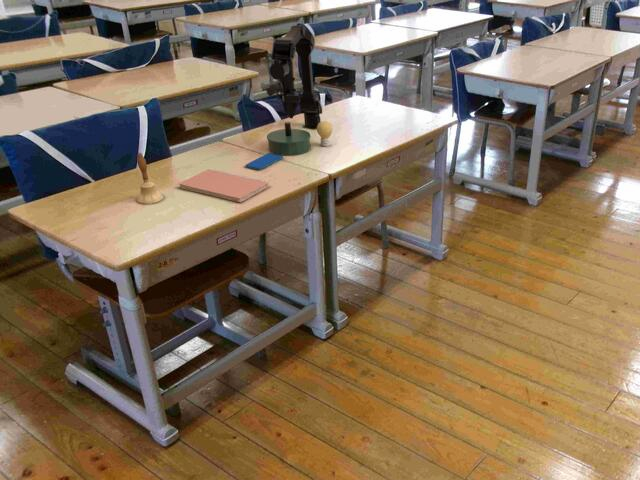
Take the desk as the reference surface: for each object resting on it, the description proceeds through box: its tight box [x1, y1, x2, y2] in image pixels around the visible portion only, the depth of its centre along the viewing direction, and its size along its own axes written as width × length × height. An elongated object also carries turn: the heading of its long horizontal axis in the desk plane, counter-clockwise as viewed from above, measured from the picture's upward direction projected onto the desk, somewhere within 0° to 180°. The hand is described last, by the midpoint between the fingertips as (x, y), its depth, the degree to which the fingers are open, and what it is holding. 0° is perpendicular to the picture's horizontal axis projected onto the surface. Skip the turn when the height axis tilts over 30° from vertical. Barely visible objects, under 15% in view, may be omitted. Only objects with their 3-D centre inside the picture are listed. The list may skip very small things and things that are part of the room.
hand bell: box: [136, 152, 164, 205], centre depth 209 cm, size 8×8×16 cm
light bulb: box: [316, 120, 334, 147], centre depth 259 cm, size 6×6×10 cm
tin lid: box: [266, 121, 311, 144], centre depth 254 cm, size 17×17×6 cm
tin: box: [267, 137, 311, 157], centre depth 256 cm, size 16×16×5 cm
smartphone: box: [245, 152, 284, 171], centre depth 243 cm, size 7×1×15 cm
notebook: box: [177, 169, 270, 203], centre depth 222 cm, size 27×17×2 cm, turn 63°
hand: (288, 115), depth 250 cm, fingers open, 9 cm apart
